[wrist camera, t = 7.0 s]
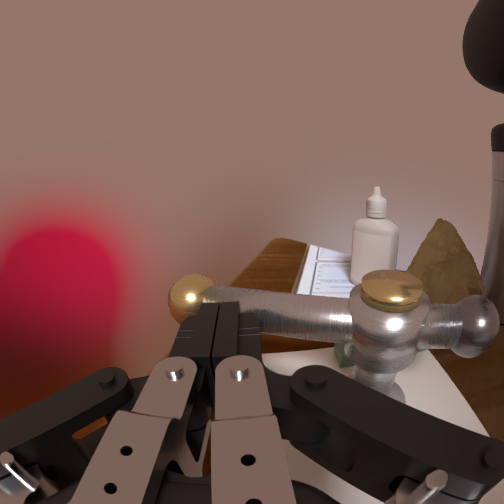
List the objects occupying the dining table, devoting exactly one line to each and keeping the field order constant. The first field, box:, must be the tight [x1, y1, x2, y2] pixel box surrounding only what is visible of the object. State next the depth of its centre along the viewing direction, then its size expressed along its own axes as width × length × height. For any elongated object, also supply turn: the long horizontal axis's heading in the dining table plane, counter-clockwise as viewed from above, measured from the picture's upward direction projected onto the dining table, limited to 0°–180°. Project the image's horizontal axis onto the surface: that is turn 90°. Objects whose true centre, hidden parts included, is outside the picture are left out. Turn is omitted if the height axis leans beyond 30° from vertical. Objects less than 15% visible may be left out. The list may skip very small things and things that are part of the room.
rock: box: [406, 218, 485, 304], centre depth 21 cm, size 11×9×10 cm
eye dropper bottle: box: [350, 187, 399, 285], centre depth 30 cm, size 4×6×12 cm
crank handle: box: [168, 270, 500, 396], centre depth 11 cm, size 15×3×6 cm, turn 68°
